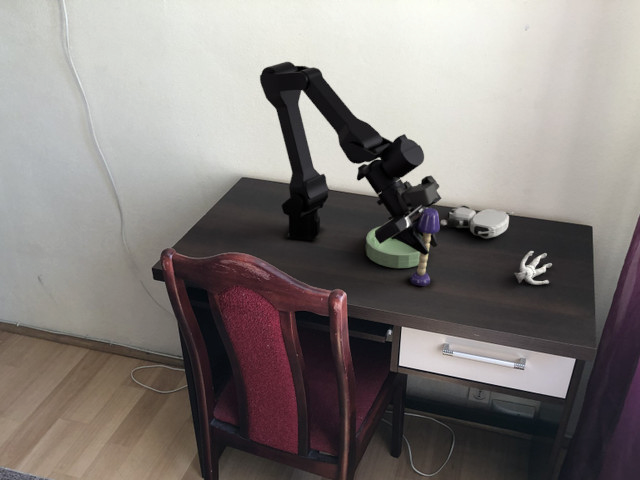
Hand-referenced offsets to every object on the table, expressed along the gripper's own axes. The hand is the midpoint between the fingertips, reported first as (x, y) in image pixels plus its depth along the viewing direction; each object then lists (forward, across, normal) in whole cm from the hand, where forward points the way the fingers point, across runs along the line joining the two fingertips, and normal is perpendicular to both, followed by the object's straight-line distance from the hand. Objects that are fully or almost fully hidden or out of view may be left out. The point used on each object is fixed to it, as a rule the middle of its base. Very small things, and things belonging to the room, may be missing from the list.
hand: (431, 250), depth 142 cm
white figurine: (+18, +16, -6) cm, 25 cm away
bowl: (-2, +8, +14) cm, 16 cm away
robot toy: (+5, +29, +8) cm, 30 cm away
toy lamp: (+5, 0, +7) cm, 8 cm away
